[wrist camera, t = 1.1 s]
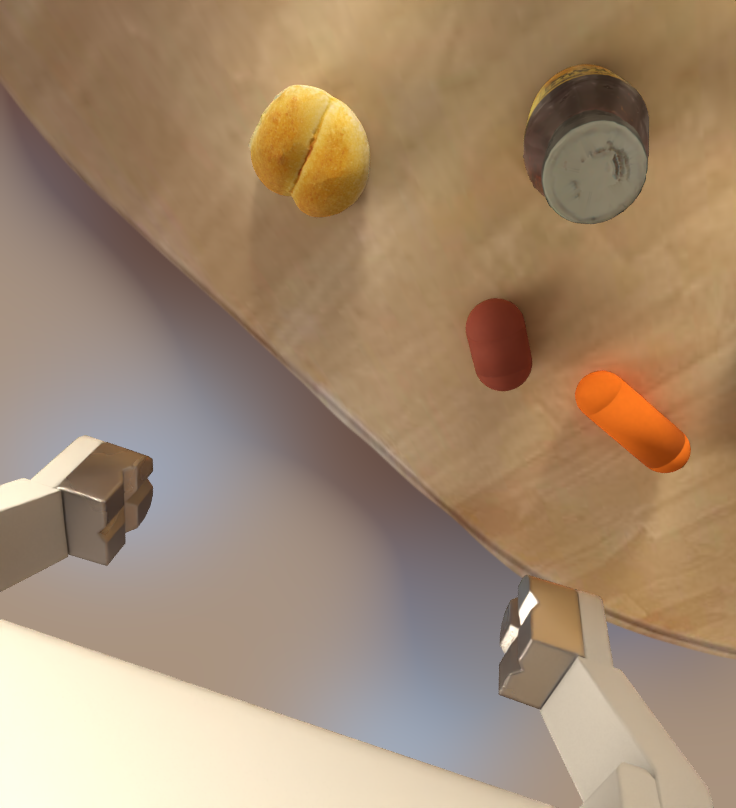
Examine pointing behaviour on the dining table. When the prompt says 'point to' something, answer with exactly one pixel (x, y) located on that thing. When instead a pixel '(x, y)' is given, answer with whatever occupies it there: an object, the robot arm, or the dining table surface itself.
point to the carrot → (632, 422)
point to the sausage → (499, 344)
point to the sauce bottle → (587, 143)
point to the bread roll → (311, 151)
